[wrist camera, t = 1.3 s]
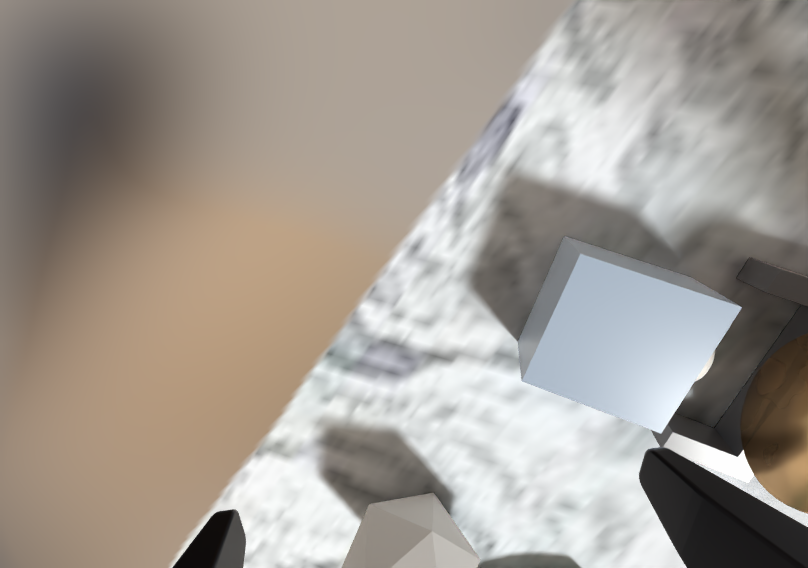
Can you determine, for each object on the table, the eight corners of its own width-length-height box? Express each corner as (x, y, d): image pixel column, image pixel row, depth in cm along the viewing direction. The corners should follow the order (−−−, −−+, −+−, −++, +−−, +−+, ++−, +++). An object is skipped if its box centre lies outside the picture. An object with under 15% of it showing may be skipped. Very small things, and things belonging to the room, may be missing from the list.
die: (408, 568, 33) (472, 694, 24) (312, 561, 29) (347, 709, 21) (447, 477, 33) (525, 571, 24) (356, 459, 29) (410, 562, 21)
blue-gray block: (709, 282, 22) (766, 315, 17) (646, 387, 24) (682, 441, 19) (563, 235, 23) (580, 253, 18) (517, 340, 25) (521, 381, 20)
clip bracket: (844, 288, 20) (889, 304, 18) (724, 451, 24) (748, 482, 21) (749, 257, 21) (780, 269, 18) (646, 421, 24) (661, 449, 22)
